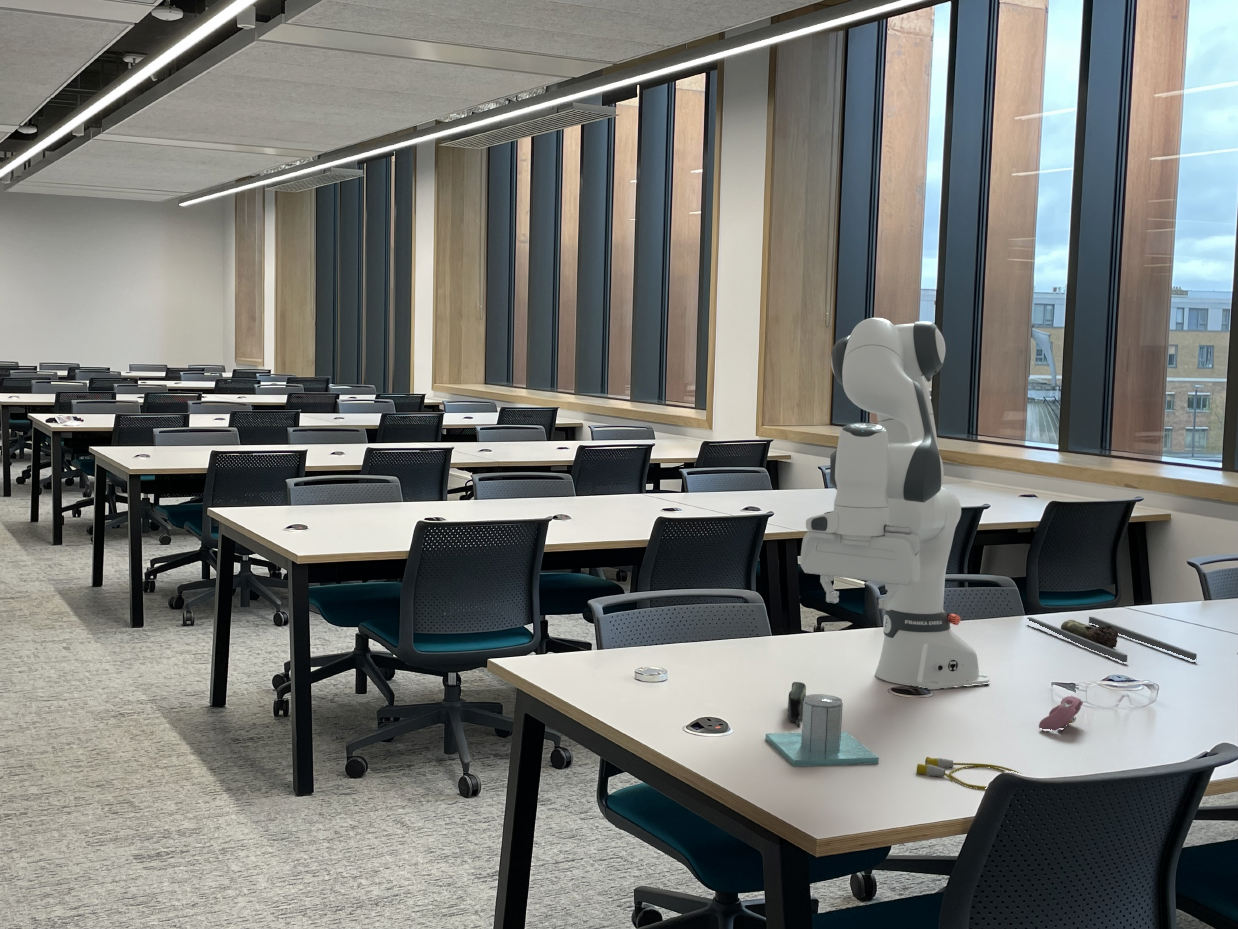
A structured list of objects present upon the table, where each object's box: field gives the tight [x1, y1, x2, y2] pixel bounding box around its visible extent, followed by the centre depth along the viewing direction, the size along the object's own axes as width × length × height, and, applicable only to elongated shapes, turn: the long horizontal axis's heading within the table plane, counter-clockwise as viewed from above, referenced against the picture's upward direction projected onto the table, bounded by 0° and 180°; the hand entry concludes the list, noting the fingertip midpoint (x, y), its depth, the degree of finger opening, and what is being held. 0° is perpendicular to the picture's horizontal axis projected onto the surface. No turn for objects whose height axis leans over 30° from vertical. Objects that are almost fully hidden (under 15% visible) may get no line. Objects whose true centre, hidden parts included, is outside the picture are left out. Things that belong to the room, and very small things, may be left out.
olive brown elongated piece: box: [1060, 619, 1119, 650], centre depth 288 cm, size 18×7×6 cm, turn 11°
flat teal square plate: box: [765, 730, 880, 767], centre depth 200 cm, size 14×14×6 cm
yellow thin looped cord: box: [916, 756, 1022, 791], centre depth 190 cm, size 12×16×2 cm
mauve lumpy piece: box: [1038, 695, 1084, 731], centre depth 218 cm, size 10×5×7 cm, turn 149°
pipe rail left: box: [1026, 616, 1128, 663], centre depth 289 cm, size 1×40×2 cm, turn 11°
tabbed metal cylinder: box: [801, 693, 844, 751], centre depth 202 cm, size 10×6×8 cm, turn 161°
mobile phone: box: [787, 681, 807, 728], centre depth 221 cm, size 5×3×15 cm
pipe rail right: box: [1088, 616, 1198, 660], centre depth 292 cm, size 1×40×2 cm, turn 11°
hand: (858, 606), depth 204 cm, fingers open, 8 cm apart
